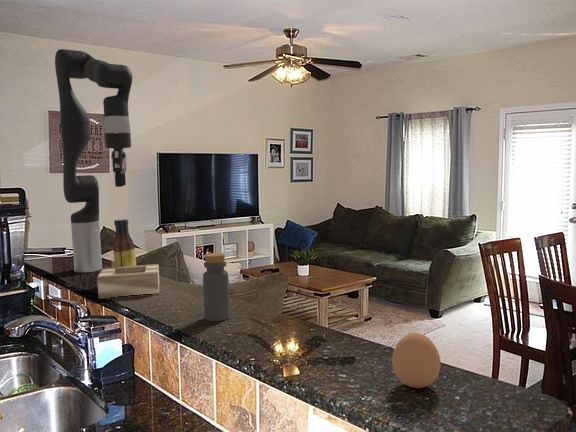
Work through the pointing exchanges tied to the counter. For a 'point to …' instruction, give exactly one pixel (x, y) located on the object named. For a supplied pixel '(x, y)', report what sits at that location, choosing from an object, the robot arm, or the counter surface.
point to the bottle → (216, 288)
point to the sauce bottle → (123, 245)
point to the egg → (416, 360)
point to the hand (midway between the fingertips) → (120, 186)
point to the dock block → (128, 281)
